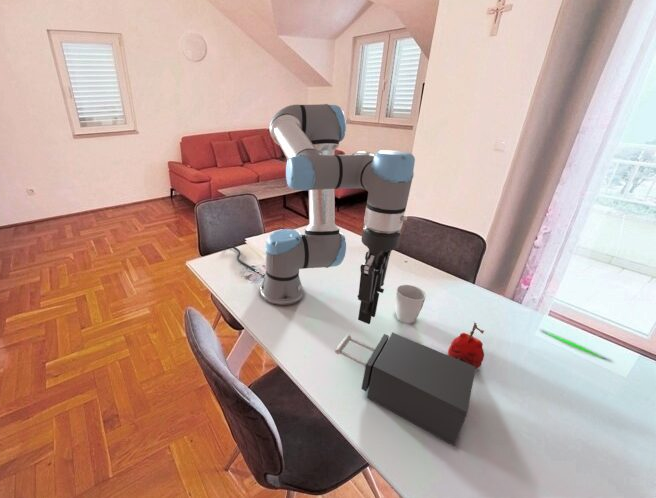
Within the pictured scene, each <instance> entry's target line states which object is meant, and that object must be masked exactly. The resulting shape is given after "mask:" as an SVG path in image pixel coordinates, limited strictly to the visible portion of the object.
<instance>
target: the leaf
mask: <svg viewBox="0 0 656 498" xmlns="http://www.w3.org/2000/svg"><path fill="white" fill-rule="evenodd" d="M544 333H545V334H546V335H549V336H550V337H553V338H555V339H557V340H559V341H562V342H564V343H566V344H569V345H570V346H573V347H575V348H577V349H580V350H582V351H584V352H587V353H588V354H591V355H594V356H596V357H599V358H602V359H604V360H606V358H605V357H603V356H601V355H600V354H597V353H596V352H593V351H591V350H589V349H587V348H585V347H583V346H580V345H578V344H576V343H574V342H572V341H569V340H567V339H564V338H562V337H559V336H556V335H554V334H551V333H548V332H546V331H544Z"/></svg>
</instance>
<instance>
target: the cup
mask: <svg viewBox="0 0 656 498" xmlns="http://www.w3.org/2000/svg"><path fill="white" fill-rule="evenodd" d="M426 298H427V294H426V292H425V291H424V290H423V289H421V288H420V287H418V286H415V285H411V284H401V285H399V286H397V288H396V294H395V314H396V318H397V320H398V321H400V322H401V323H403V324H412V323H414V322H415V321H416V319H417V318H418V317H419V314H420V313H421V310H422V309H423V306H424V303H425V300H426Z"/></svg>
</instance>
